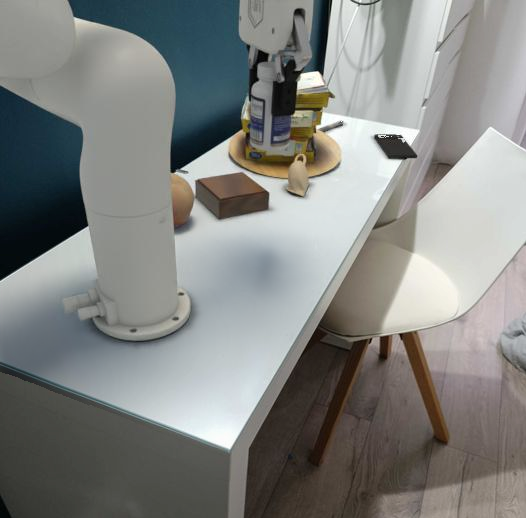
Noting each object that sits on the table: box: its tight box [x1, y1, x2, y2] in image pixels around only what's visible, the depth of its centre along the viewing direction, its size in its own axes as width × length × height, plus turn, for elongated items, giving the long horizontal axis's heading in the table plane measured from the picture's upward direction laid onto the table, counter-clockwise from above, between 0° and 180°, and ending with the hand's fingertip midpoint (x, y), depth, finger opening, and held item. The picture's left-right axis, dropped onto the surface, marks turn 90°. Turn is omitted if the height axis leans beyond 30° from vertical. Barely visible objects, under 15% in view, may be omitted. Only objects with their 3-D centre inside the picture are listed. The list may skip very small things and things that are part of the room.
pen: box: [317, 120, 345, 133], centre depth 129 cm, size 1×14×1 cm
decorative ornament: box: [285, 154, 310, 197], centre depth 98 cm, size 4×8×5 cm, turn 164°
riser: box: [194, 171, 270, 220], centre depth 91 cm, size 10×10×4 cm
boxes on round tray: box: [228, 71, 342, 179], centre depth 107 cm, size 25×25×17 cm
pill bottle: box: [250, 61, 291, 151], centre depth 65 cm, size 5×5×10 cm
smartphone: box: [373, 133, 418, 159], centre depth 121 cm, size 7×1×15 cm
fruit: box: [170, 172, 195, 228], centre depth 83 cm, size 8×8×8 cm
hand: (271, 106), depth 65 cm, fingers closed on pill bottle, 5 cm apart
